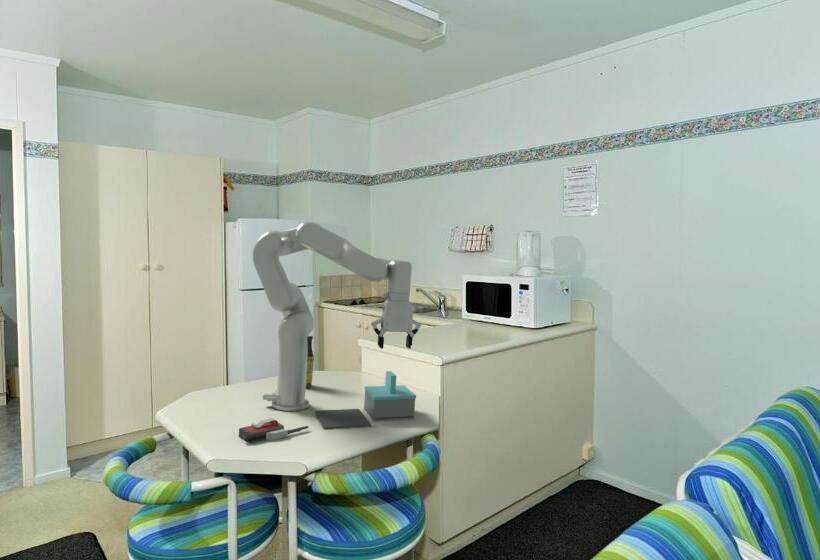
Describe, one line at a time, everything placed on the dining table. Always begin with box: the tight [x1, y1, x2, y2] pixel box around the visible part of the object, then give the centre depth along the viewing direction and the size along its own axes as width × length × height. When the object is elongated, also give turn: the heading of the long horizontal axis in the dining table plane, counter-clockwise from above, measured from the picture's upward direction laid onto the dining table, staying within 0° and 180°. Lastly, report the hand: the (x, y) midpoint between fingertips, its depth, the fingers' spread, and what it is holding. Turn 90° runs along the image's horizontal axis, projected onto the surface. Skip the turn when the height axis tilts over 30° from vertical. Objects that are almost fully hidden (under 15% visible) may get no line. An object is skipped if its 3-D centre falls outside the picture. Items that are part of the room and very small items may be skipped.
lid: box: [364, 370, 417, 400], centre depth 181 cm, size 14×12×8 cm
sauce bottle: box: [306, 334, 315, 388], centre depth 208 cm, size 6×6×20 cm
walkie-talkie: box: [238, 417, 309, 444], centre depth 156 cm, size 9×4×20 cm
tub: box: [363, 389, 416, 422], centre depth 182 cm, size 14×12×7 cm
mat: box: [314, 408, 372, 430], centre depth 173 cm, size 15×16×1 cm
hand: (394, 347), depth 181 cm, fingers open, 9 cm apart
